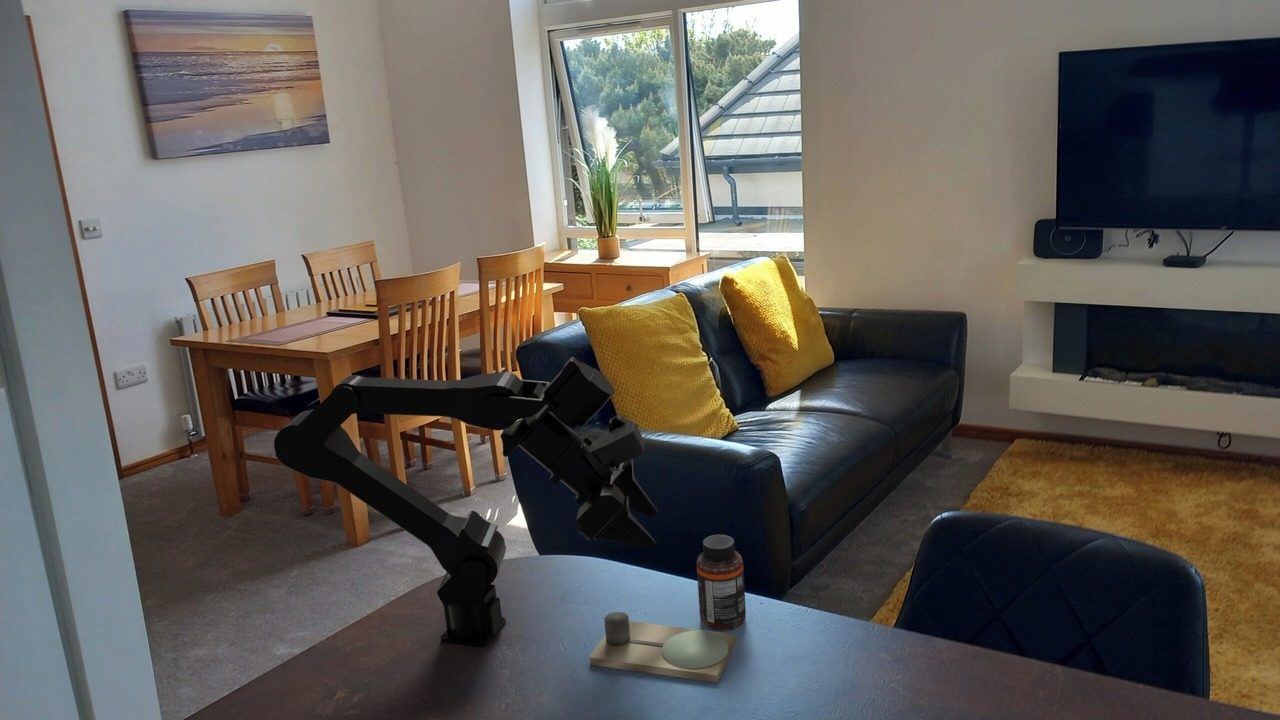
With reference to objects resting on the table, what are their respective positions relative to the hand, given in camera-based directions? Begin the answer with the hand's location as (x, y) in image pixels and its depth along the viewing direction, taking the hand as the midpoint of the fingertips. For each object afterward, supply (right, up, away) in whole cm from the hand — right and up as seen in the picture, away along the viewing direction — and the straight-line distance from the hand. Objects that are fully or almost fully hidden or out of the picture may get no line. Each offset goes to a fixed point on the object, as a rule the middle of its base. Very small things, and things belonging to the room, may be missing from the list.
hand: (654, 529), depth 123 cm
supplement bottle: (+9, -12, +3) cm, 16 cm away
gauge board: (+1, -15, -3) cm, 15 cm away
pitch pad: (+5, -15, -5) cm, 16 cm away
